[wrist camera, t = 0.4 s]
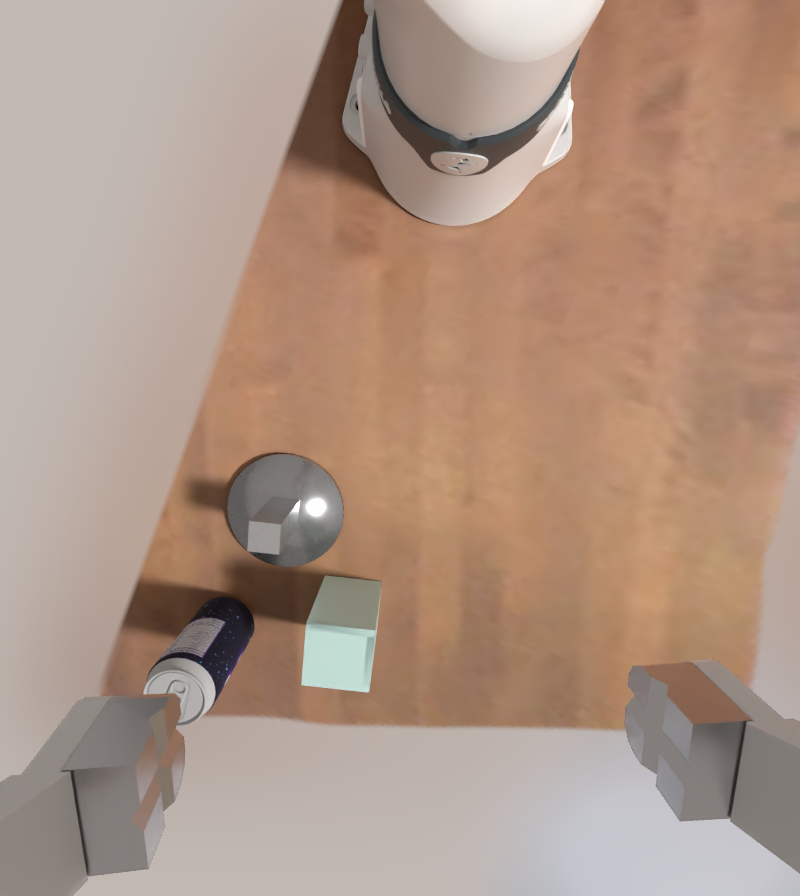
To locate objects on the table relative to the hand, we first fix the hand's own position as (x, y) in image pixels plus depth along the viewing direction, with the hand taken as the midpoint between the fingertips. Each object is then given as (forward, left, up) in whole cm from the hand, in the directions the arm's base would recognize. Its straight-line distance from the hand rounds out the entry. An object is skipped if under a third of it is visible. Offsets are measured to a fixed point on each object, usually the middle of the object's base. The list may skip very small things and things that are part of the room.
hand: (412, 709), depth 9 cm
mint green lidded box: (+19, -4, -39) cm, 43 cm away
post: (+10, -11, -39) cm, 41 cm away
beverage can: (+22, -16, -39) cm, 47 cm away
